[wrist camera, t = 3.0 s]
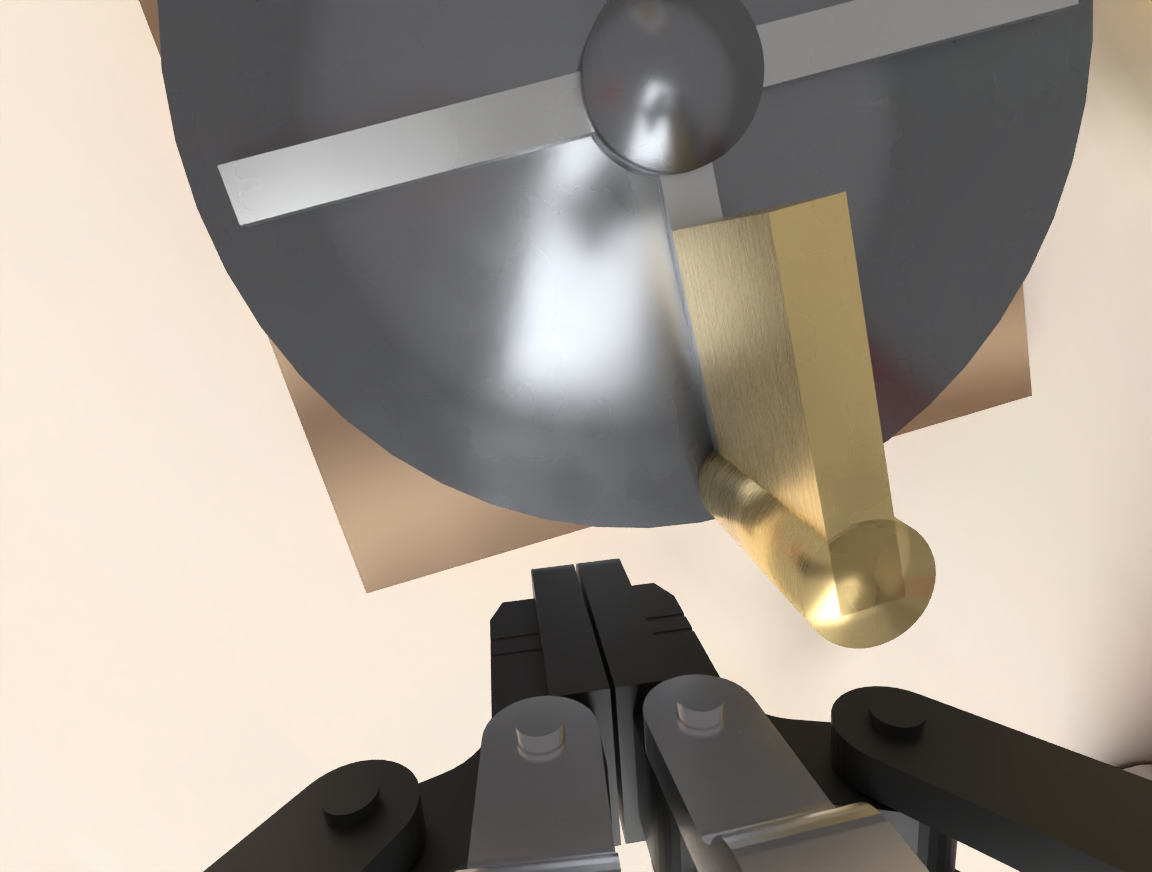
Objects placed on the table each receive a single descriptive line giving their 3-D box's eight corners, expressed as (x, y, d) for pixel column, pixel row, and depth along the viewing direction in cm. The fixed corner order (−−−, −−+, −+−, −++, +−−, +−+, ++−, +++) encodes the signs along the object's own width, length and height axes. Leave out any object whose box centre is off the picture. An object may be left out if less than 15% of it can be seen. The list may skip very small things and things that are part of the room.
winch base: (1005, 404, 28) (1105, 431, 23) (379, 591, 26) (356, 658, 22) (922, -454, 21) (1043, -656, 16) (57, -263, 19) (-76, -425, 15)
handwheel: (1083, 405, 23) (1402, 480, 15) (372, 618, 21) (305, 826, 13) (1020, -568, 16) (1524, -1355, 8) (-1, -350, 15) (-549, -1042, 7)
